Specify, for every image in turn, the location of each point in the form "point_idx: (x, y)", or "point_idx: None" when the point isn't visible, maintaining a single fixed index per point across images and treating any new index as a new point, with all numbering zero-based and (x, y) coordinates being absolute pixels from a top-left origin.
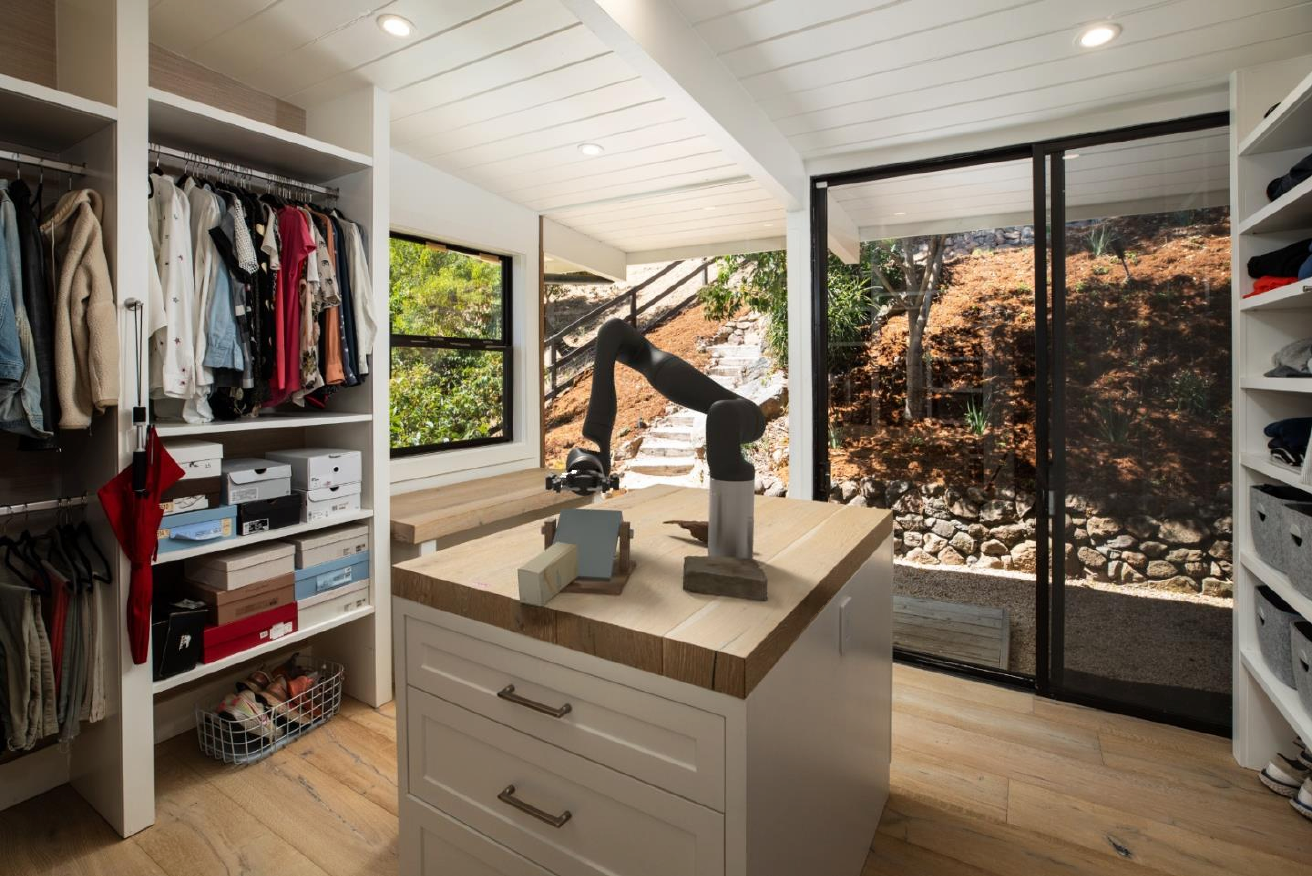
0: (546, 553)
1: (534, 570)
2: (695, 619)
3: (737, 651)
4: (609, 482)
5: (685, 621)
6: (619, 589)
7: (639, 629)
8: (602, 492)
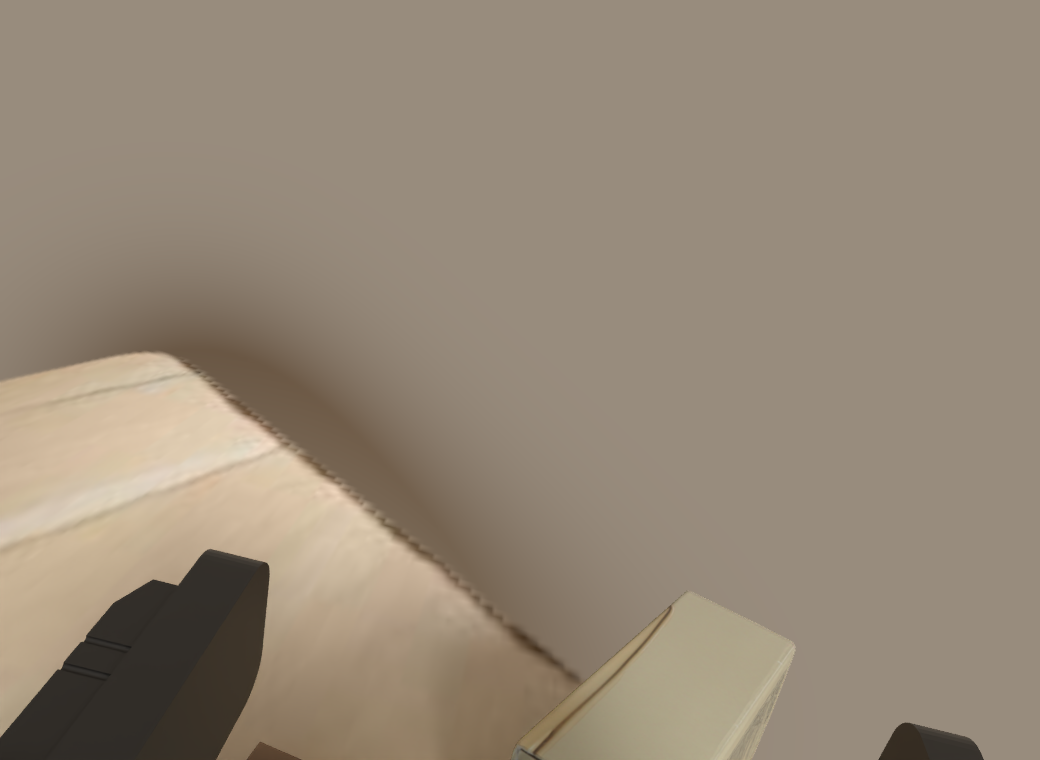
0: (698, 713)
1: (713, 609)
2: (108, 490)
3: (152, 360)
4: (83, 646)
5: (152, 489)
6: (259, 745)
7: (326, 488)
8: (253, 673)
